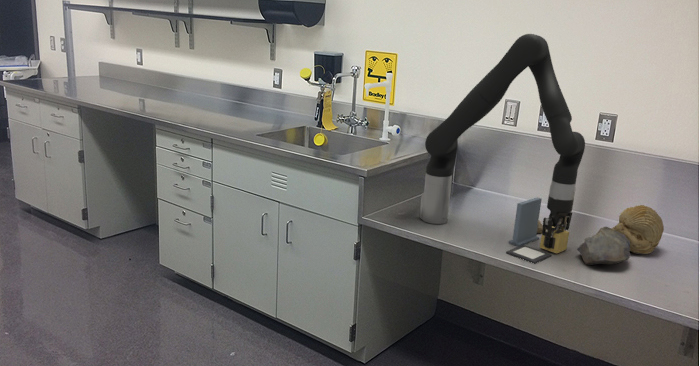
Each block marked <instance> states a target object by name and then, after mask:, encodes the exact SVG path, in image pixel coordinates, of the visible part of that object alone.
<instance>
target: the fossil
mask: <svg viewBox="0 0 700 366" xmlns="http://www.w3.org/2000/svg"><path fill="white" fill-rule="evenodd" d="M619 214H620V215H619V216H618V221H619V222H618V223H617V224H616V225H615V226H613V227H611V228H612V229H614V230H616V231H617V232H620V233H622V234H624V235H625V237H626V238H627V239H628V240H629V241H630V251H629V252H632V253H634V254H640V255H641V254H642V255H648V254H651V253H653V252H654V250H655V249H656V248H657V246H659V244H660V241H661V239H662V236H663V233H664V230H665V229H664V223H663V220H662V217H661V216H660V215H659V213H658V212H657V211H656V210H655V209H653V208H652V207H649V206H647V205H644V204H643V205H641V204H640V205H634V206H631V207H626V208H625V209H624V210H623V211H621V213H619Z"/></svg>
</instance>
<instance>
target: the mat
mask: <svg viewBox="0 0 700 366" xmlns="http://www.w3.org/2000/svg"><path fill="white" fill-rule="evenodd" d="M505 254H507V255H510V256H513V257H515V258H517V257H518V258H517V259H520V258H521V260H523V259H524V260H523V261H525V260H526V262H528V261H529V262H528V263H531V262H532V263H531V264H533V263H534V264H538V263H539V261H540V262H542V261H545V260H546V259H549V258H551V257H552V256H553V255H552V254H551V253H549V252H546V251H542V250H540V249H537V248H535V247H531V246H528V245H527V244H526V245H521V246H519V247H518V246H515V247H514V248H512V249H510V250H507V251H505ZM537 262H538V263H537Z"/></svg>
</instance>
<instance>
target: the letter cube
mask: <svg viewBox="0 0 700 366" xmlns="http://www.w3.org/2000/svg"><path fill="white" fill-rule="evenodd" d="M552 228H555V227H553V226H552ZM551 233H552V231H551ZM569 237H570V231H569V230H566V231H565V230H562V229H559V228H558V231H557V232H555V234H554V237H553V243H552V248H550V249H549V248H546V247H545V246H544V245H545V239H546V236H544V235H542V234H541V237H540V243H539V248H540V249H543V250H546V251H549V252H551V253H554V254H558V253H562V252H564V251H566V250H567V248H568V247H567V246H568V241H569Z"/></svg>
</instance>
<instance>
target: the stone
mask: <svg viewBox="0 0 700 366" xmlns="http://www.w3.org/2000/svg"><path fill="white" fill-rule="evenodd" d="M612 228H613V227H609V226H603V227H600V228H599V230H598V231H597V232H596V234H593V235H591V236H588V237H586V238H585V239H584V242H583V243H581V244H580V245H579V246H578V247H577V249H576V250H577V252H578V253H579V254H580V256H581V257H582V260H583V262H584V264H585V265H589V266H590V265H591V266H594V265H614V264H618V263H621V262H625V261H627V260H629V259H630V258H631V255H632V254H631V253H630V252H631V251H630V241H629V240H628V239H627V238H626V237H625V235H624V234H622V233H620V232H617V231H616V230H614V229H612Z"/></svg>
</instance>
